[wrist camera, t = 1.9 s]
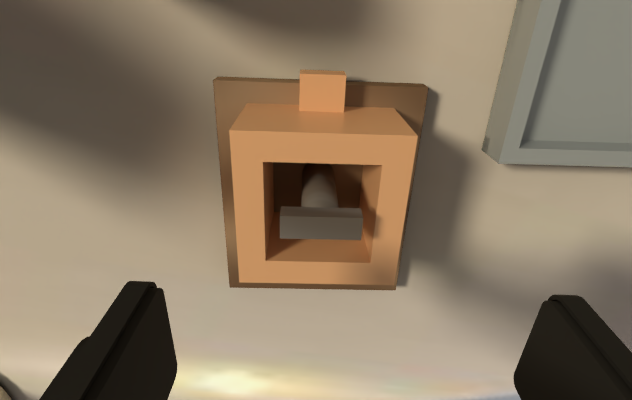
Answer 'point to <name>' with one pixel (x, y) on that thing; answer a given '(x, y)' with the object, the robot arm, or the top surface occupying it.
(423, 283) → the top surface
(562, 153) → the tray
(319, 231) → the brown board with hook
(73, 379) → the robot arm
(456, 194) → the top surface
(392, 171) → the ring
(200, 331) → the top surface
